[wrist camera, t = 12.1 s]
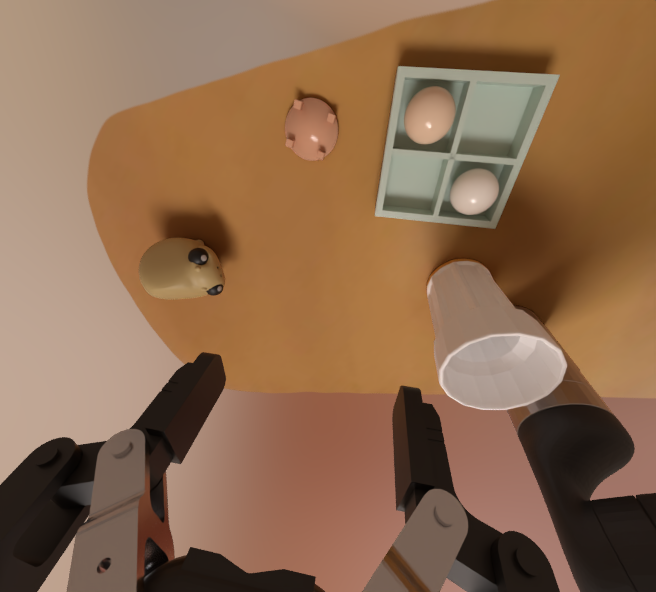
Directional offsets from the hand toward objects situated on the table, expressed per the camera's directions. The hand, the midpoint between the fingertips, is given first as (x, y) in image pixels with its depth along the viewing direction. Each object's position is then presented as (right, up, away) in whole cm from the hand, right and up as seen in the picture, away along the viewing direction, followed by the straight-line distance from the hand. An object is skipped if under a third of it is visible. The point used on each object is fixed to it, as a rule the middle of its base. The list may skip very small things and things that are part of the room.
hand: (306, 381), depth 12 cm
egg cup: (-1, +24, +21) cm, 32 cm away
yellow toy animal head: (-20, +11, +34) cm, 40 cm away
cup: (+21, +5, +29) cm, 36 cm away
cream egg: (+18, +17, +21) cm, 33 cm away
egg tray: (+15, +21, +20) cm, 32 cm away
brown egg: (+12, +24, +18) cm, 32 cm away
